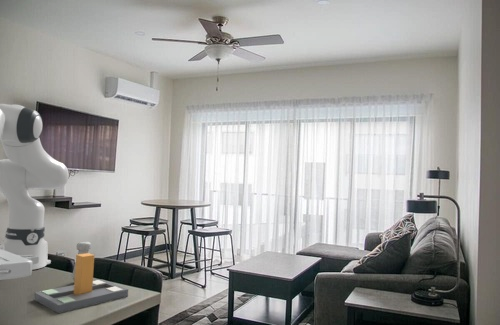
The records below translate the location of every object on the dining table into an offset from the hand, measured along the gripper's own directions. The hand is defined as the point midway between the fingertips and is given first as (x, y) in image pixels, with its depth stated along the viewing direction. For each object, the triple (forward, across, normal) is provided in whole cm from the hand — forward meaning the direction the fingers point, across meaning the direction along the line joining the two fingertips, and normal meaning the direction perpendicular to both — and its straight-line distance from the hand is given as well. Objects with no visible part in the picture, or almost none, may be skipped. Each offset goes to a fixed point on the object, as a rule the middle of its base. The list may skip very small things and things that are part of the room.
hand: (36, 259), depth 97 cm
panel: (+13, 0, +13) cm, 18 cm away
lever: (+13, 0, +12) cm, 18 cm away
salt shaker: (+20, +14, +13) cm, 28 cm away
